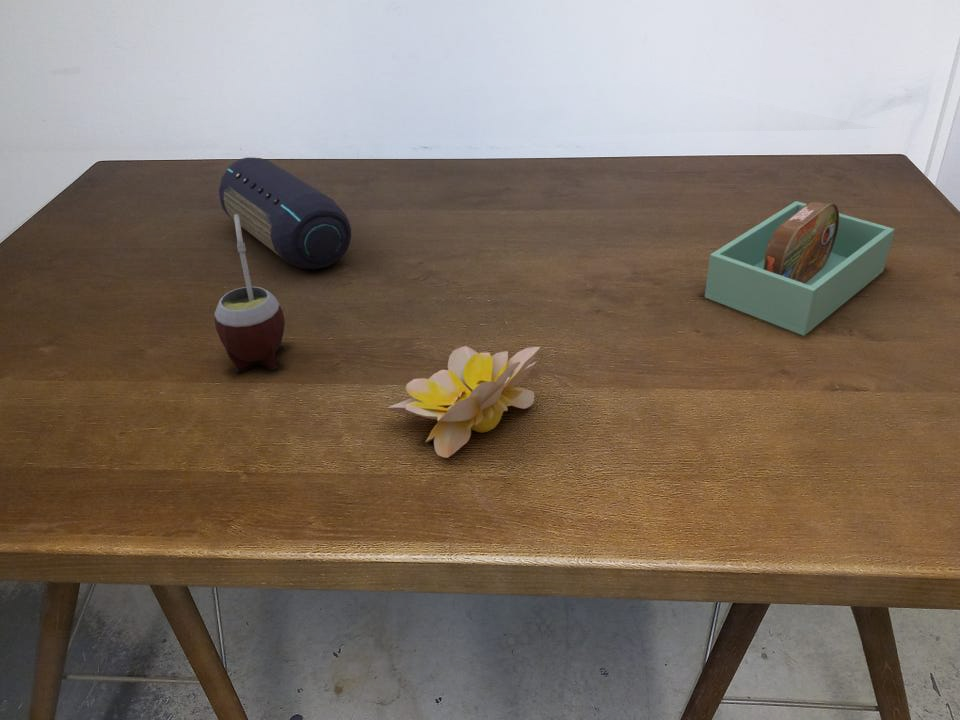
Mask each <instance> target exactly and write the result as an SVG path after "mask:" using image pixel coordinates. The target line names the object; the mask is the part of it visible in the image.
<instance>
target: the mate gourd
mask: <svg viewBox="0 0 960 720" xmlns="http://www.w3.org/2000/svg"><path fill="white" fill-rule="evenodd" d="M233 222H234V227H235V228H234V229H235V234H236V242H237V243H236V248H237V253H239V259H240V262H241V268H242V272H243V277H244V282H245V286H243V287H239V288H235V289H233V290H230V291H228V292H226V293H225V294H224V295H223V296H222V297H221V298H220V299H219V301H218V303H217V306H216V309H215V311H214V326H215V330H216V332H217V335H218V337H219V340H220V342H221V343H222V345H223V347H224V349H225V351H226V354H227V356H228V358H229V359H230V361H231V363H232V365H234V367H235V368H234V369H233V373H235V374H236V375H239V374H241V373H244V372H245V371H247V370H249V369H251V368H252V367H255V366H257V365H261V366H263V367H265V368H266V369H269V370H270V371H272V372H276V371H277V370H279V369H280V365H278V364H277V363H276V354H277V353H279V352H281V351H282V350H284V345H283V344H282V340H283V336H284V332H285V325H286V322H285V321H286V320H285V314H284V313H283V312H284V311H283V309H282V308H281V305H280V302H279V300H278V299H277V298H276V297H275V296H274V294H273V293H271V292H270V291H269V290H267V289H265V288H263V287H259V286H253V285H252V280H251V276H250V271H249V265H248V260H247V256H246V251H247V249H246V244H245V242H244V240H243V235H242V233H243V232H242V227H241V225H240V218H239V215H238V214H235V215H234V220H233Z"/></svg>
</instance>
